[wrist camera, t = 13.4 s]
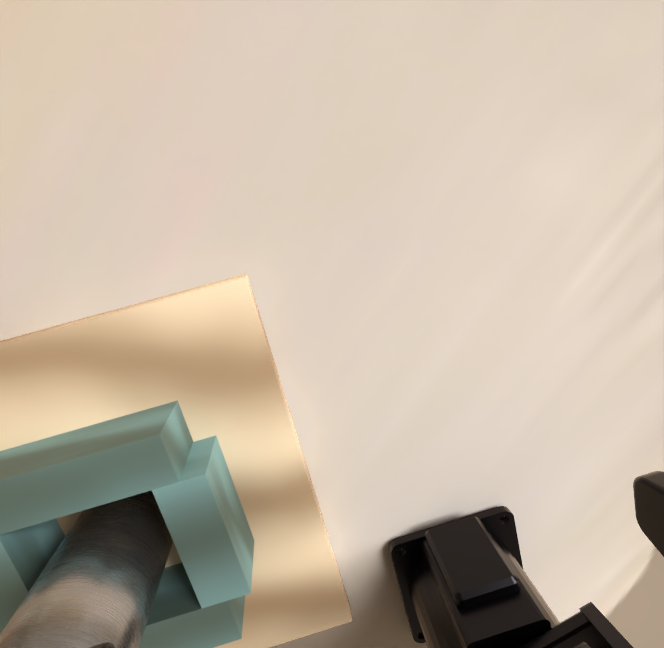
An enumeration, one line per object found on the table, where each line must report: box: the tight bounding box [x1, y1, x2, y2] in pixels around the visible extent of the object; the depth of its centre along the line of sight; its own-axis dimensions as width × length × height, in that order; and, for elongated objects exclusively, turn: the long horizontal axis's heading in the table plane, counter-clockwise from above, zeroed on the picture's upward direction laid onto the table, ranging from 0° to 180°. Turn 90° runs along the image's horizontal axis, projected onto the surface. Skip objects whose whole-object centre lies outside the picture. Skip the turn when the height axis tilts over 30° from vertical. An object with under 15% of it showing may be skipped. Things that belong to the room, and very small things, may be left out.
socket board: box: [0, 274, 352, 648], centre depth 19 cm, size 18×16×4 cm
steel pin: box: [0, 490, 173, 648], centre depth 15 cm, size 4×4×10 cm
